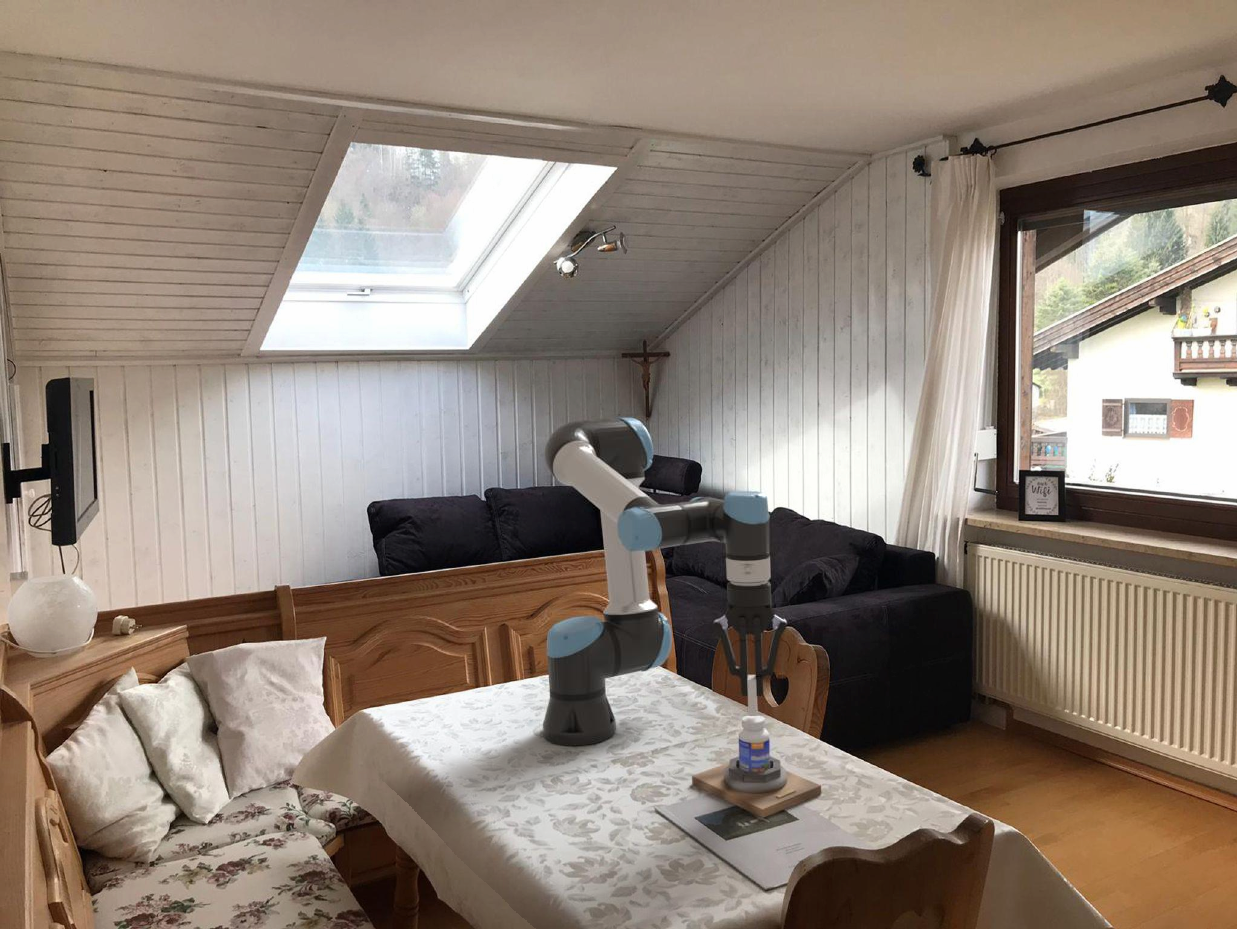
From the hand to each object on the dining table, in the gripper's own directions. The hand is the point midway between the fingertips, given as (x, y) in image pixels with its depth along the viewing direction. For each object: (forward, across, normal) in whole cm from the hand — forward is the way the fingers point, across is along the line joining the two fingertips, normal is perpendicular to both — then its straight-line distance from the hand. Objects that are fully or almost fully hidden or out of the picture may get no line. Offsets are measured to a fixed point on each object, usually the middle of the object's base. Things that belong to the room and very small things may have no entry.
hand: (753, 713), depth 173 cm
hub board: (+14, 0, 0) cm, 14 cm away
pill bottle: (+11, 0, 0) cm, 11 cm away
